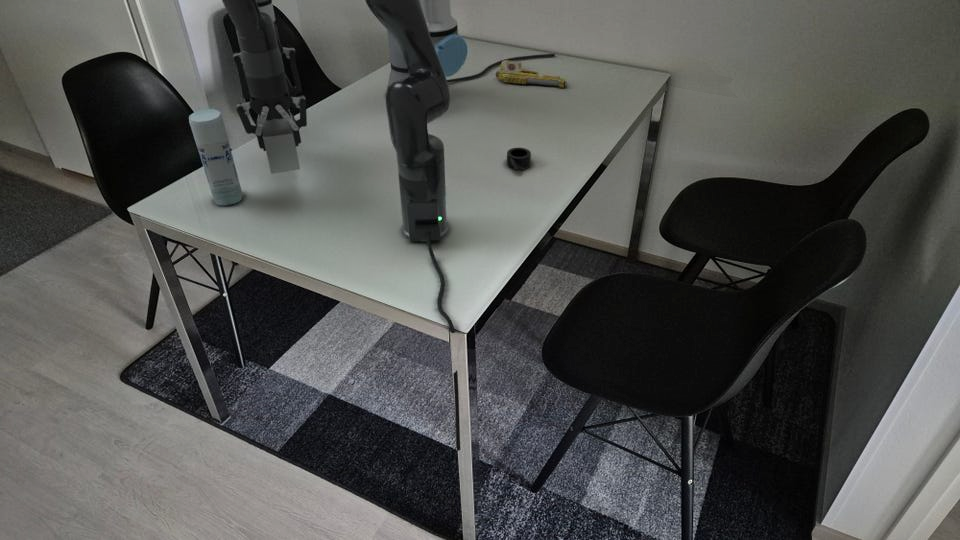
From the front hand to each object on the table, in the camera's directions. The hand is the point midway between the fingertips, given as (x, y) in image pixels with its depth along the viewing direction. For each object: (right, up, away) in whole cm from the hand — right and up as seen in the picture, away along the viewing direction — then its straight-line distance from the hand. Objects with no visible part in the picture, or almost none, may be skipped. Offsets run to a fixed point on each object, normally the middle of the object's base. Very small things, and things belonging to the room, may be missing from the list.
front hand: (281, 147), depth 134 cm
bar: (-3, +3, +10) cm, 11 cm away
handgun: (+59, +35, +66) cm, 96 cm away
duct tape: (+52, 0, +21) cm, 56 cm away
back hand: (-6, +9, +17) cm, 21 cm away
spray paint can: (-15, -10, +8) cm, 20 cm away
